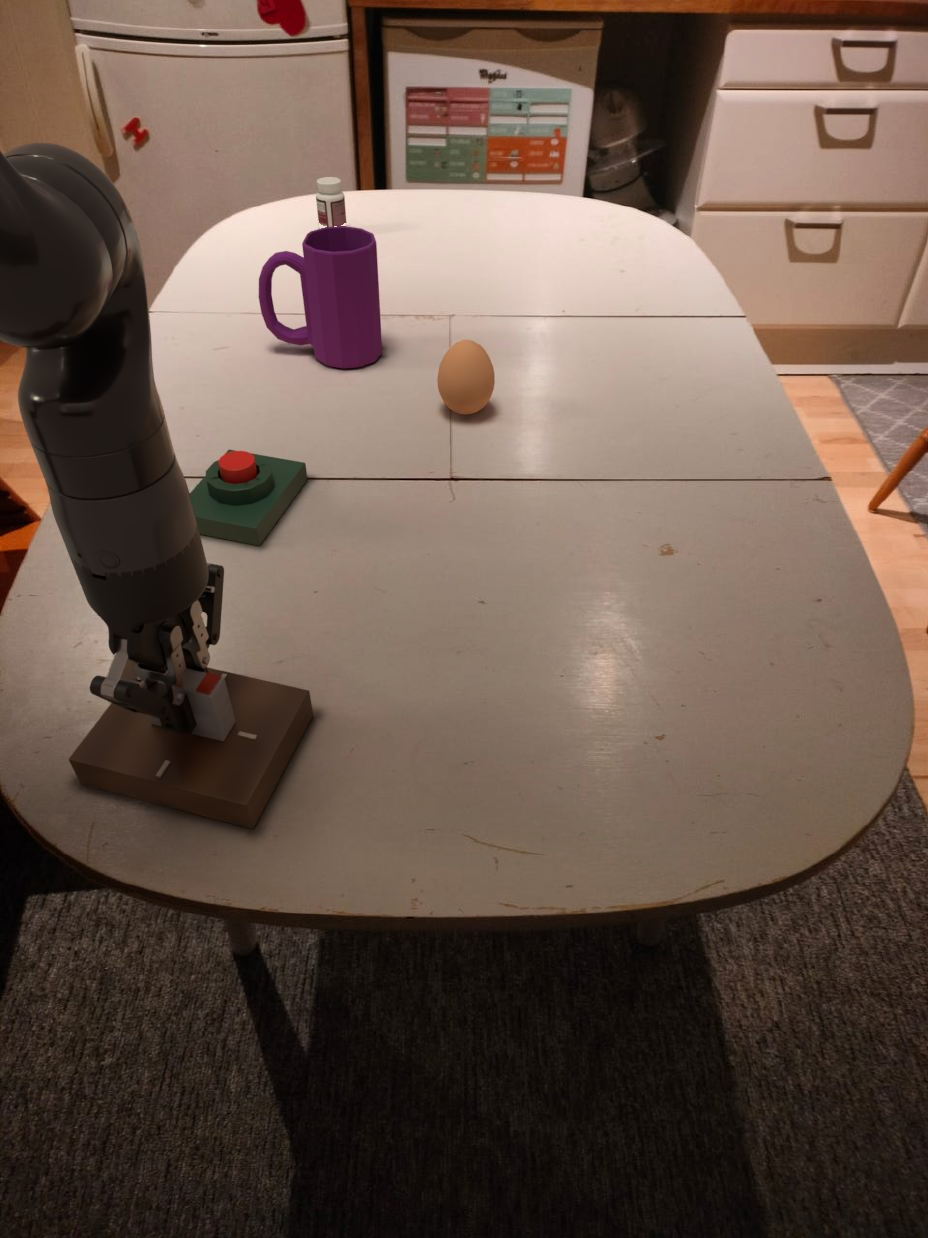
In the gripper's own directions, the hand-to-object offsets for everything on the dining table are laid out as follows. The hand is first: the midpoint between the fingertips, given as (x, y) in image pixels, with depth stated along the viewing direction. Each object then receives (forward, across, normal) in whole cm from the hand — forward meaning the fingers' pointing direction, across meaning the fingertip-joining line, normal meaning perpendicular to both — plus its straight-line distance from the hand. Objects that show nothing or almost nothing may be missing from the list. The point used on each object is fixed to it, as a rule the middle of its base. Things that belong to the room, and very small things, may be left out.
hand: (190, 714), depth 62 cm
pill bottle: (+4, -106, -32) cm, 111 cm away
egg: (+4, -55, +6) cm, 55 cm away
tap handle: (+1, 0, 0) cm, 1 cm away
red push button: (0, -30, -11) cm, 32 cm away
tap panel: (+4, 0, 0) cm, 4 cm away
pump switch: (+4, -30, -11) cm, 32 cm away
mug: (+4, -64, -16) cm, 66 cm away
